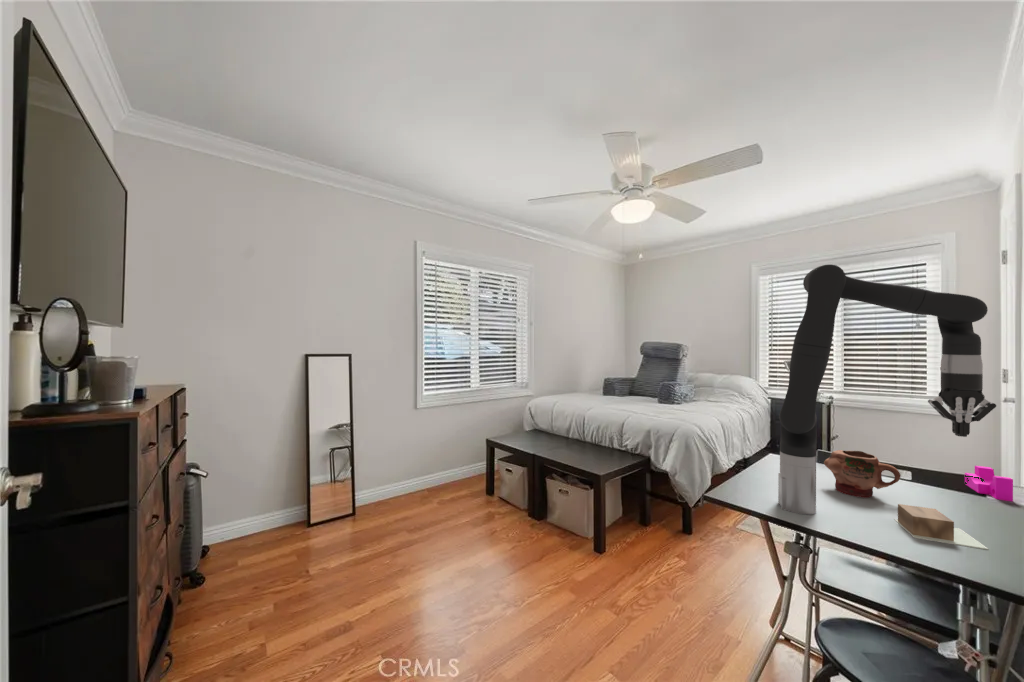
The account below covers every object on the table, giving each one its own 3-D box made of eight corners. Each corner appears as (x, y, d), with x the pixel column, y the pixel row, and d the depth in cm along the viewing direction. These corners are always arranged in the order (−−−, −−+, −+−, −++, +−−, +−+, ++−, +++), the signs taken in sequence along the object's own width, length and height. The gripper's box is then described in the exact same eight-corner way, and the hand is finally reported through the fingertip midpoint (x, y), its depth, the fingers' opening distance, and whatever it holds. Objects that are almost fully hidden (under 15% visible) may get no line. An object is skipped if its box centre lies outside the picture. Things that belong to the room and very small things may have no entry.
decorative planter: (902, 498, 134) (902, 456, 134) (899, 508, 126) (899, 464, 126) (827, 482, 149) (827, 445, 149) (820, 490, 141) (820, 451, 141)
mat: (914, 538, 106) (914, 537, 106) (894, 520, 117) (894, 518, 117) (988, 550, 100) (988, 548, 100) (960, 530, 111) (960, 528, 111)
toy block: (964, 484, 148) (964, 464, 148) (989, 488, 144) (989, 467, 144) (985, 498, 135) (985, 476, 135) (1012, 502, 131) (1013, 479, 131)
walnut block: (953, 541, 104) (913, 534, 108) (935, 526, 112) (897, 521, 116) (953, 521, 104) (913, 516, 108) (935, 508, 112) (897, 503, 116)
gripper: (935, 371, 107) (935, 436, 107) (1005, 373, 101) (1005, 441, 101) (921, 369, 114) (921, 430, 114) (986, 371, 108) (986, 435, 108)
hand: (961, 435), depth 108 cm, fingers closed
